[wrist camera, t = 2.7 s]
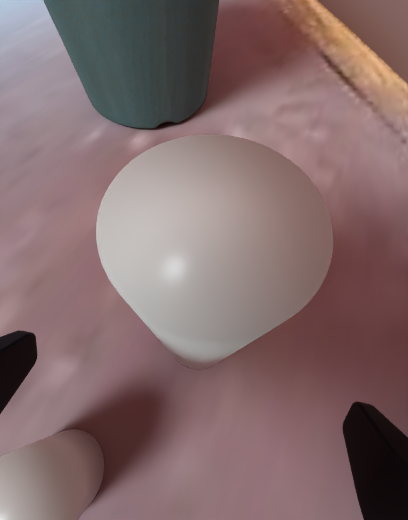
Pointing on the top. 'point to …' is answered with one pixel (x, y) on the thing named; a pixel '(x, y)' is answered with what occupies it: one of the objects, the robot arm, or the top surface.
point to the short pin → (51, 477)
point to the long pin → (213, 243)
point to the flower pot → (140, 55)
